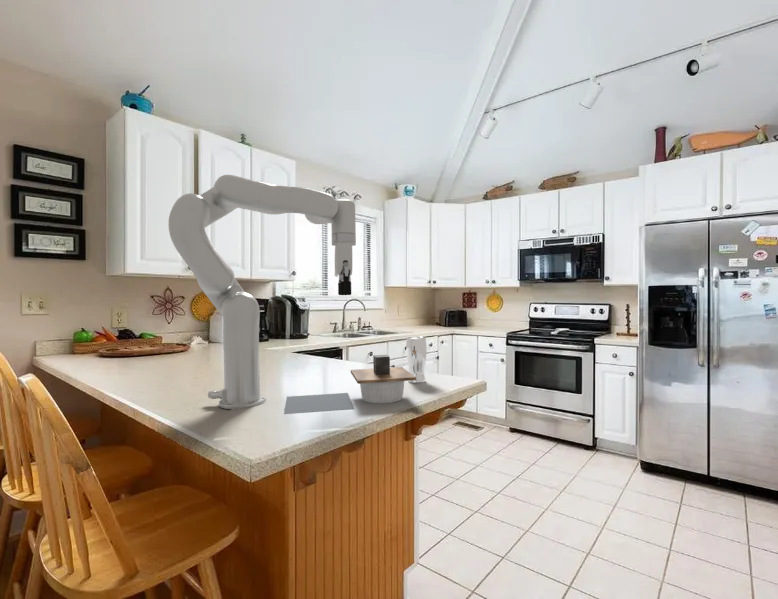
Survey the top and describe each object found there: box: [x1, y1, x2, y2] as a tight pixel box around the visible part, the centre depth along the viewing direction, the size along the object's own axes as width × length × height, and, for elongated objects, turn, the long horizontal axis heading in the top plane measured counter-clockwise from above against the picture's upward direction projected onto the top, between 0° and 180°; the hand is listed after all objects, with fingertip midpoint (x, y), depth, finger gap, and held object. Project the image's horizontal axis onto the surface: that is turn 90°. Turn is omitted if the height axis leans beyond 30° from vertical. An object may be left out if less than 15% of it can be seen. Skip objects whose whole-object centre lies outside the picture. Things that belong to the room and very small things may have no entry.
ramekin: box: [359, 381, 405, 404], centre depth 121 cm, size 13×13×7 cm
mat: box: [283, 392, 355, 415], centre depth 117 cm, size 18×18×1 cm
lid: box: [350, 354, 416, 385], centre depth 121 cm, size 16×16×6 cm
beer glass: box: [405, 336, 428, 384], centre depth 144 cm, size 7×7×15 cm
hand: (344, 295), depth 132 cm, fingers open, 9 cm apart
